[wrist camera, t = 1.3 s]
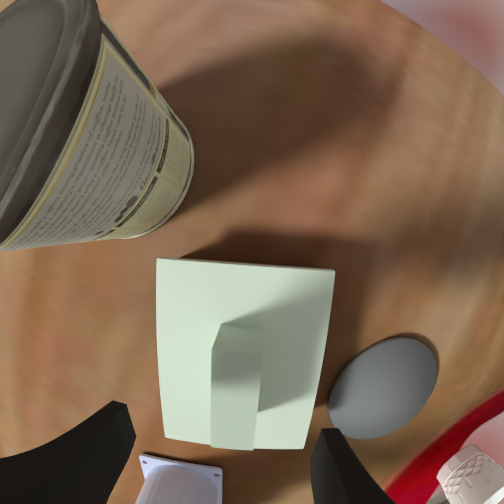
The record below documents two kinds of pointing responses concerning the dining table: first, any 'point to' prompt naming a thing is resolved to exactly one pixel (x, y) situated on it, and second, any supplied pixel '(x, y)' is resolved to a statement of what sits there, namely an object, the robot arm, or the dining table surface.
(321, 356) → the lid
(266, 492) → the dining table surface
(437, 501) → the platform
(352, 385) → the stone
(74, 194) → the coffee can
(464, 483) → the white cup
